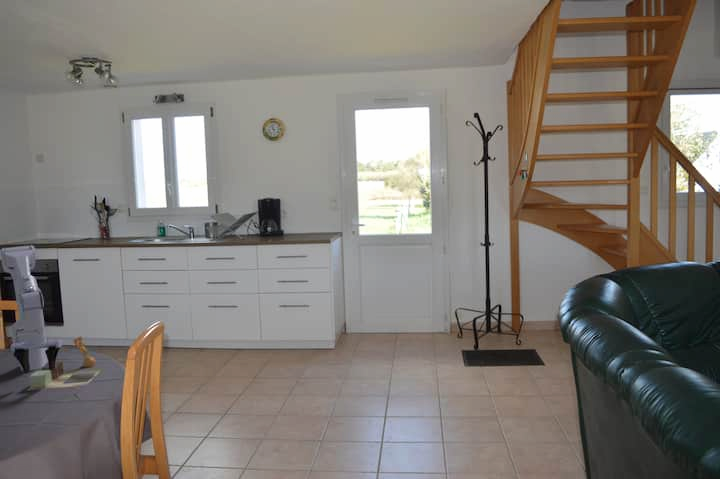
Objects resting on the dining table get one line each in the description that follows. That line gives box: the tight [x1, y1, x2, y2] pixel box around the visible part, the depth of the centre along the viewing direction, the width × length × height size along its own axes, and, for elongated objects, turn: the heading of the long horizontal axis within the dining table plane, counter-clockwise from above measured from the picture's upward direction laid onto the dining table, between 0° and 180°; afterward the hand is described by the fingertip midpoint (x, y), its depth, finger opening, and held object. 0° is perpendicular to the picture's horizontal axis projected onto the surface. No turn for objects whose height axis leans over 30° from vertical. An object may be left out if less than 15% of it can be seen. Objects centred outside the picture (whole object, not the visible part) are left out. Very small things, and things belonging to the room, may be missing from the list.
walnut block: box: [41, 361, 65, 378], centre depth 180 cm, size 4×4×4 cm
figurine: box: [73, 335, 97, 368], centre depth 188 cm, size 8×6×12 cm
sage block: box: [28, 370, 52, 388], centre depth 173 cm, size 4×4×4 cm
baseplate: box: [26, 368, 103, 391], centre depth 177 cm, size 14×18×1 cm
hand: (39, 370), depth 172 cm, fingers open, 7 cm apart
